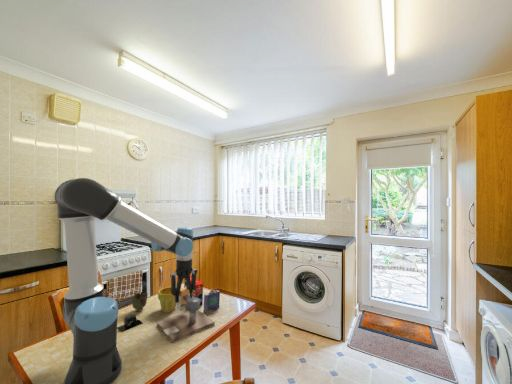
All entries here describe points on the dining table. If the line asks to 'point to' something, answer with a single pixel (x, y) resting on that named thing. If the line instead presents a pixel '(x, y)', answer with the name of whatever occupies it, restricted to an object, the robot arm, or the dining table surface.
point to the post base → (184, 325)
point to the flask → (211, 300)
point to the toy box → (196, 290)
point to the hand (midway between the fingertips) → (183, 306)
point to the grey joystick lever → (189, 300)
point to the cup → (139, 301)
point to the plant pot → (166, 299)
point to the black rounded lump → (129, 323)
